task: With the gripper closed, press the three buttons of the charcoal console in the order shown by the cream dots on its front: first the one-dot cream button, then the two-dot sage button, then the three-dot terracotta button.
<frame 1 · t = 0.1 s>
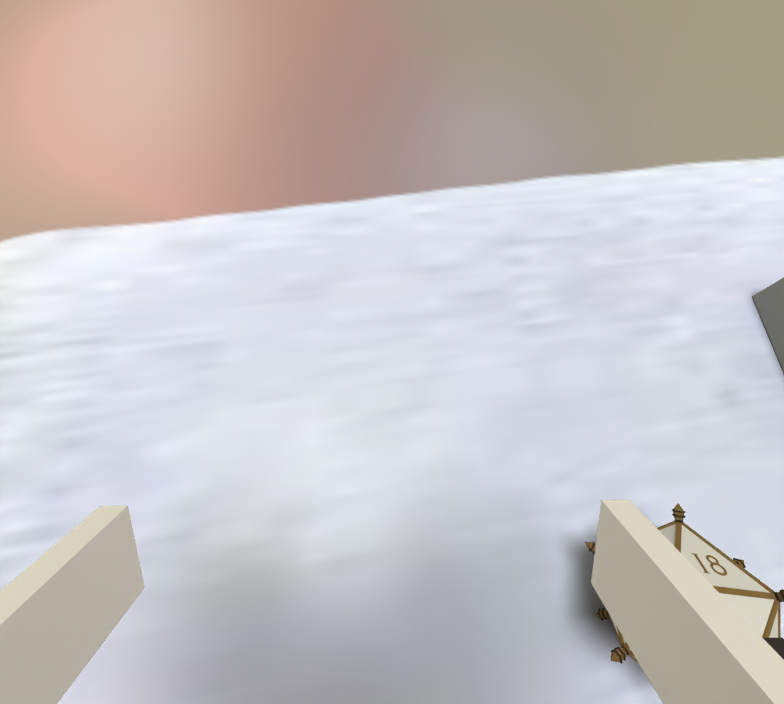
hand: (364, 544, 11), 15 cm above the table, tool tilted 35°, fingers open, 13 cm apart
game die: (636, 590, 24), on the table
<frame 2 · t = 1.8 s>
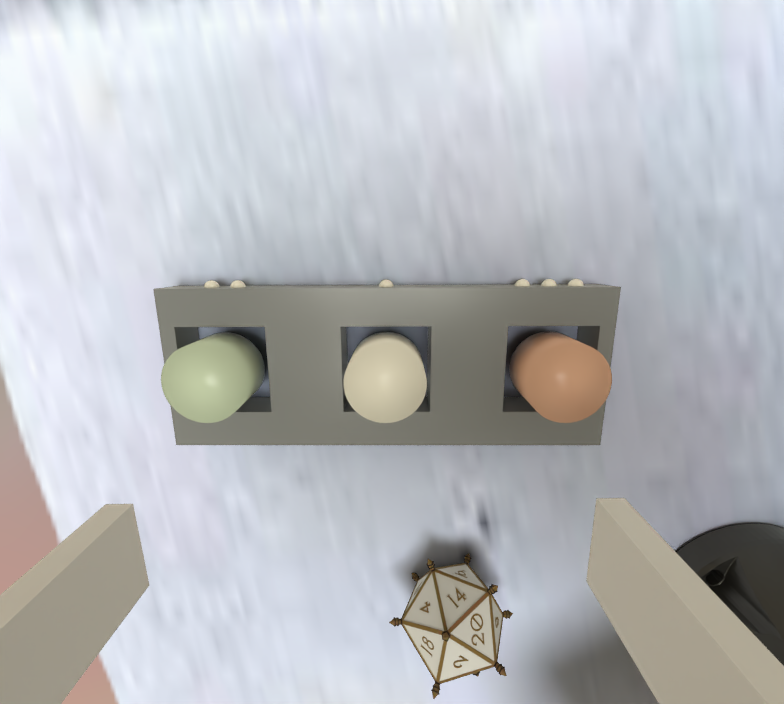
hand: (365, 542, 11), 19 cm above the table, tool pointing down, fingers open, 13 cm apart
game die: (446, 574, 34), on the table
button two: (216, 375, 25), point 4 cm above the table, slide at 0.0 cm
console: (387, 359, 29), on the table
button three: (556, 374, 25), point 4 cm above the table, slide at 0.0 cm
button one: (385, 375, 25), point 4 cm above the table, slide at 0.0 cm
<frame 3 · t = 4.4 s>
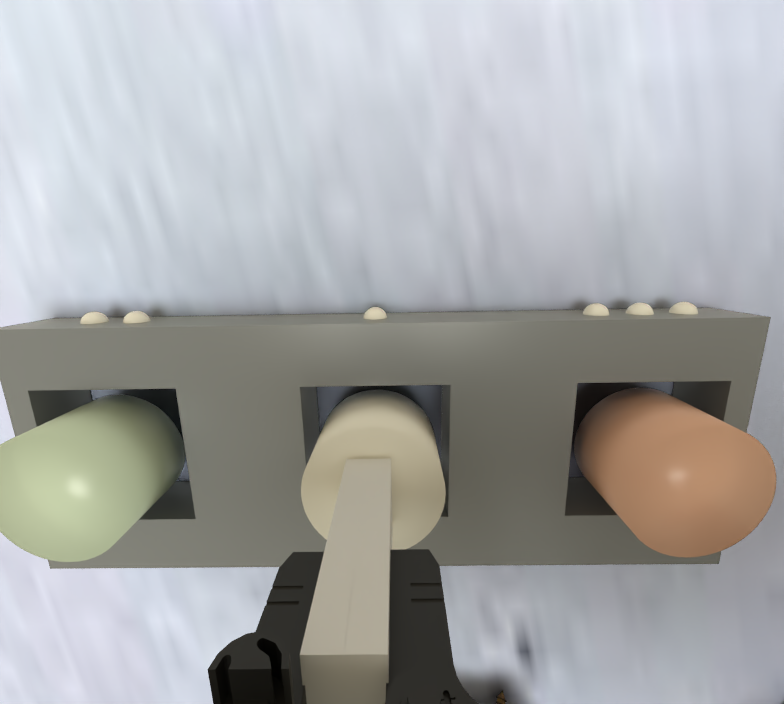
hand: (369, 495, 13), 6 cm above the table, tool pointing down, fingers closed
button two: (95, 471, 15), point 4 cm above the table, slide at 0.0 cm
console: (379, 424, 19), on the table
button three: (661, 465, 15), point 4 cm above the table, slide at 0.0 cm
button one: (375, 465, 15), point 4 cm above the table, slide at 0.2 cm, touching gripper
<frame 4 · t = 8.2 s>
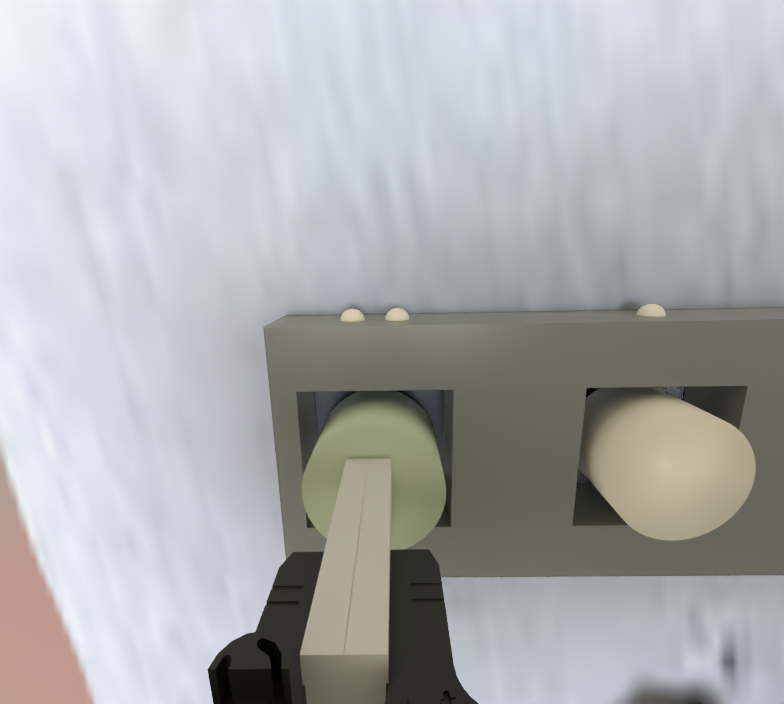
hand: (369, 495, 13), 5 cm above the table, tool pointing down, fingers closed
button two: (376, 464, 15), point 3 cm above the table, slide at 0.9 cm, touching gripper
console: (614, 427, 18), on the table
button one: (649, 454, 16), point 3 cm above the table, slide at 1.5 cm
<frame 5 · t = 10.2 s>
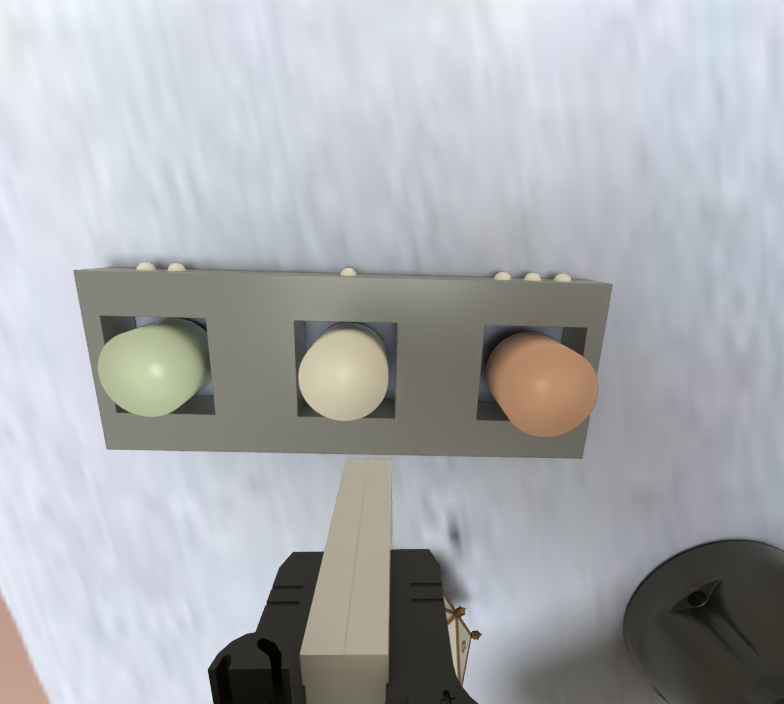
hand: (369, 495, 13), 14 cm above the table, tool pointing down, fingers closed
game die: (413, 589, 31), on the table
button two: (163, 365, 23), point 3 cm above the table, slide at 1.5 cm
console: (350, 357, 26), on the table
button three: (536, 381, 22), point 4 cm above the table, slide at 0.0 cm
button one: (346, 369, 23), point 3 cm above the table, slide at 1.5 cm
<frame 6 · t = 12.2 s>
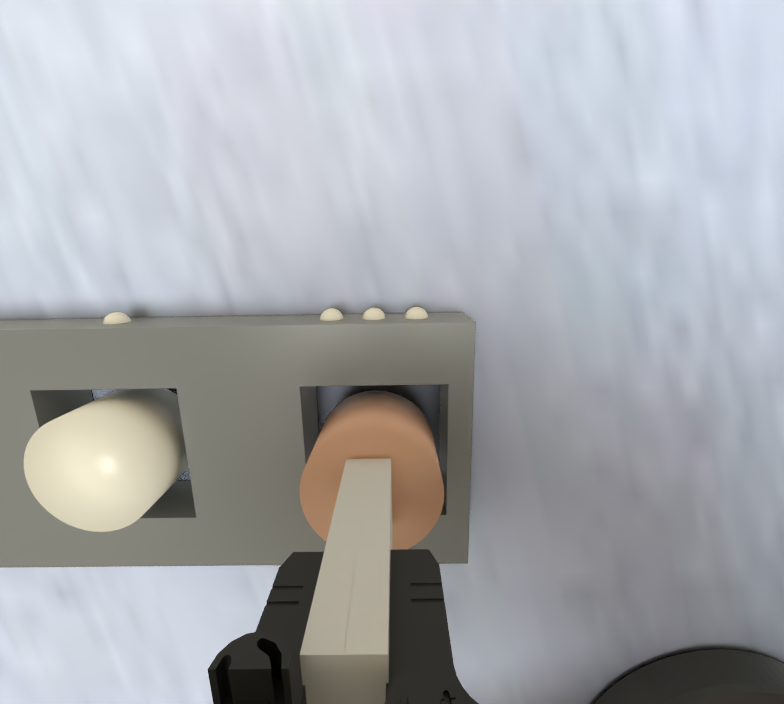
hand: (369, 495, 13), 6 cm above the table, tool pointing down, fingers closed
console: (158, 426, 19), on the table
button three: (374, 466, 15), point 4 cm above the table, slide at 0.0 cm, touching gripper
button one: (122, 452, 17), point 3 cm above the table, slide at 1.5 cm
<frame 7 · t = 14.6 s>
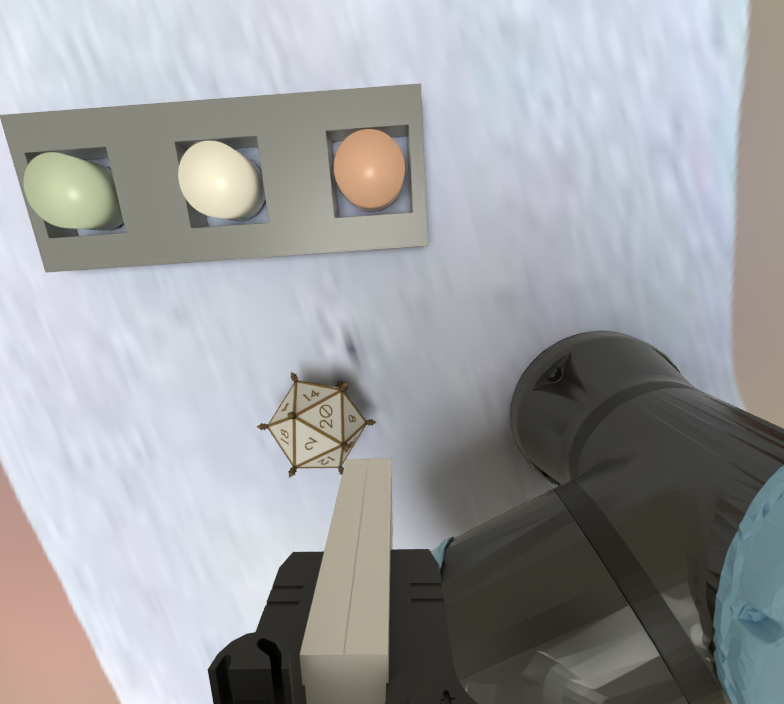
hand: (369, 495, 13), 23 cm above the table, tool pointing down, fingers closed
game die: (326, 405, 37), on the table
button two: (80, 194, 29), point 3 cm above the table, slide at 1.5 cm
console: (238, 189, 32), on the table
button three: (370, 173, 29), point 3 cm above the table, slide at 1.5 cm
button one: (225, 184, 29), point 3 cm above the table, slide at 1.5 cm
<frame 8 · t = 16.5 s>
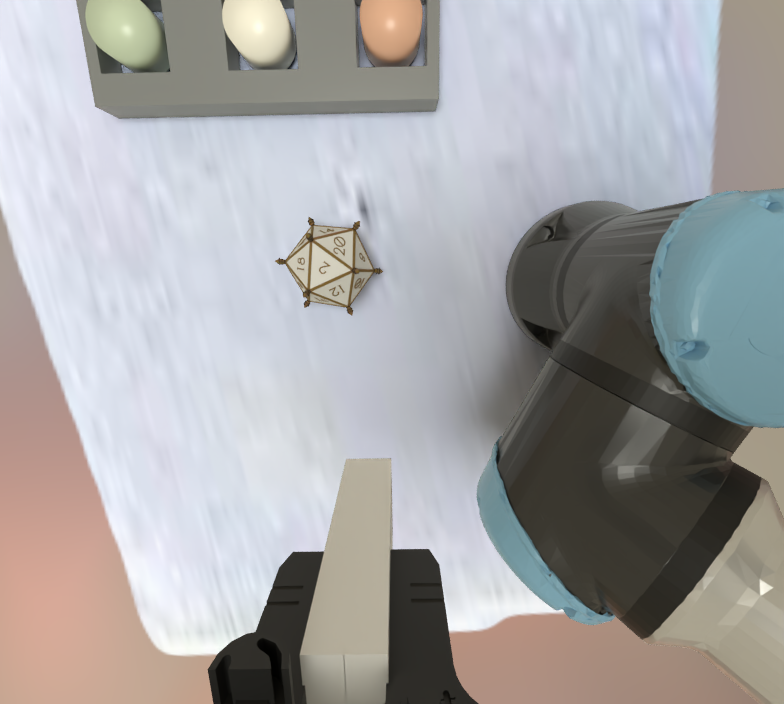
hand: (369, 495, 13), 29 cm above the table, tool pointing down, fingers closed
game die: (337, 265, 40), on the table
button two: (132, 34, 33), point 3 cm above the table, slide at 1.5 cm
console: (270, 47, 35), on the table
button three: (391, 28, 33), point 3 cm above the table, slide at 1.5 cm
button one: (261, 31, 33), point 3 cm above the table, slide at 1.5 cm
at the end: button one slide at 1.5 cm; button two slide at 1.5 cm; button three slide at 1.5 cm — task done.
